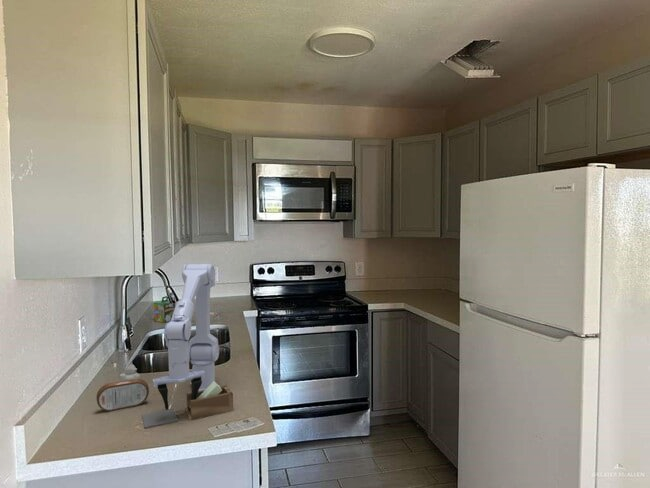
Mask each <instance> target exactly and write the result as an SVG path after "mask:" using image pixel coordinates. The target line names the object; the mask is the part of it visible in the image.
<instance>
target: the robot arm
mask: <svg viewBox="0 0 650 488" xmlns="http://www.w3.org/2000/svg"><path fill="white" fill-rule="evenodd" d="M181 277H182V281H183V284H184V285H183V291H182V294H181V295H182V296H181V299H180V300H178V301H177V302H175V309H174V312H173V315H172V318H171V321H169V322H166V324H165V327H164V332H163V337H164V340H165V345H166V347H167V350H168V375H164V376H160V377H157V378H153V379H152V386H153V388H157V390H158V392H159V393H160V395H161V397H162V400H163V403H164V410H168V409H169V398H168V397H169V396H168V395H169V392H168V390H169V389H168V385H172V384H178V383H184V382H188V381H189V382H190V383H189V384H190V388H191V392H192V395H191V400H195V399H196V397H197V393H198V391H201V390H206V389H207V388H208V387H209V385H210V384H211V383H212V382H213V381H215V382H216V377H215V376H216V374H215V373H216V372H215V369H216V368H215V362H216V361H217V360H218V359H219V355H220V346H219V339H218V338H217V337H216V336H214V335H213V334H211V288H212V287H215V286H216V269H215V265H213V263H203V264H202V263H201V264H200V263H197V264H196V263H195V264H192V263H185V264H184V265H183V266H182V269H181ZM194 300H195V305H194ZM194 313H195V335H194V336H192V337H191V335H192V324H193V323H192V319H193V316H194V315H193V314H194ZM190 337H191V338H190ZM190 363H191V365H192V371H191V370H190Z"/></svg>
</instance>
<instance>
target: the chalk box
mask: <svg viewBox="0 0 650 488" xmlns="http://www.w3.org/2000/svg"><path fill="white" fill-rule="evenodd" d="M167 296H168V295H165V296H162V298H161V300H159V301H155V302H153V321H154V322H157V323H164V324H165V323H169V322H170V321H171V318H172V315H173V312H174V309H175V306H176V302H175V303H173V304H171V303H170V302H169V296H168V297H167Z"/></svg>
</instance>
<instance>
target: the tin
mask: <svg viewBox="0 0 650 488" xmlns="http://www.w3.org/2000/svg"><path fill="white" fill-rule="evenodd" d="M149 394H150V388H149V384H148V383H147V382H146V381H145V380H144V379H141V378H139V379H131V380H125V381H121V380H119V381H112V382H108V383H105V384H104V385H102V386H101V387H100V388H99V389H98V390H97V393H96V398H95V399H96V404H97V406H98V407H99V408H100V409H101V410H103V411H106V412H107V411H108V412H111V411H117V410H124V409H127V408H132V407H133V408H134V407H138V406H141V405H142V404H144V403H145V401H147V399H148V397H149Z"/></svg>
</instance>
